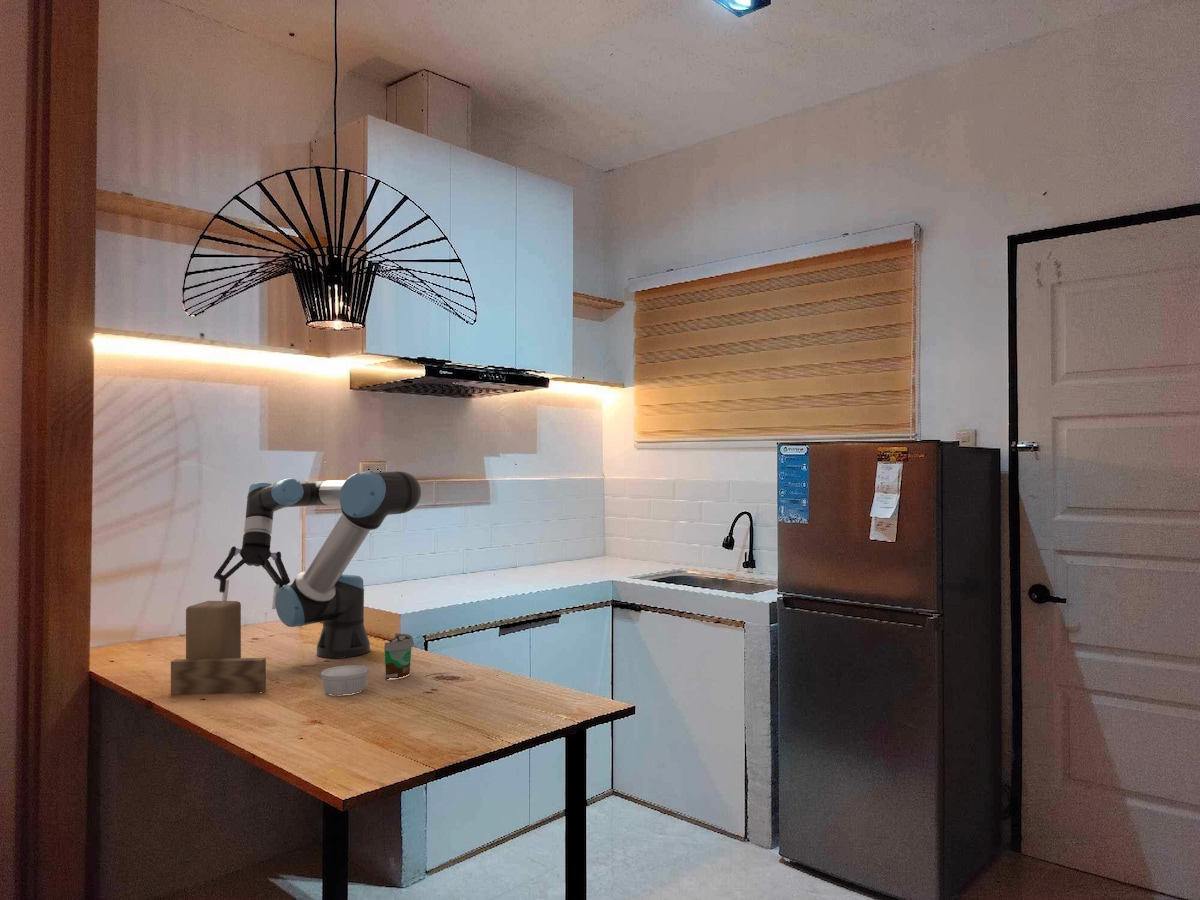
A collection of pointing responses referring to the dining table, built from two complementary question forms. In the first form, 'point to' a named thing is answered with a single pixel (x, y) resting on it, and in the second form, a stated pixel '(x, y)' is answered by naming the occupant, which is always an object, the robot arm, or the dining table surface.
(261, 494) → the robot arm
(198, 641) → the block
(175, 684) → the board
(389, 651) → the food container
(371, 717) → the dining table surface
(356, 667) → the ramekin
